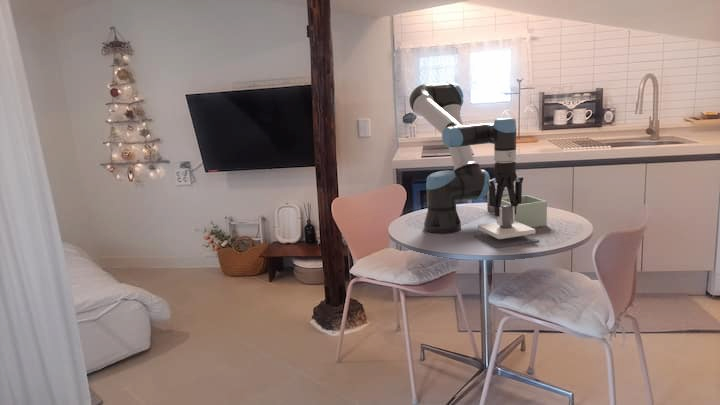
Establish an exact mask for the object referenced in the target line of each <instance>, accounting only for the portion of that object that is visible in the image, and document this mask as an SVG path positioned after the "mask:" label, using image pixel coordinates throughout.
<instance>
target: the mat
mask: <svg viewBox="0 0 720 405" xmlns="http://www.w3.org/2000/svg"><path fill="white" fill-rule="evenodd" d="M474 237H475V238H477V239H479V240H481V241H483V242H485V243H487V244H488V245H490V246H492V247H494V248H496V249H500V248H501V249H502V248H508V247H512V246H513V247H515V246H522V245H526V244H532V243H540V240H539V239H537V238H535V237H533V236H531V235H530V234H529V235H525V236H518V237H512V238H505V239H497V238H495V237H493V236H491V235H489V234H487V233H485V232H483V233H477V234H474Z"/></svg>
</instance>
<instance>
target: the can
mask: <svg viewBox="0 0 720 405" xmlns="http://www.w3.org/2000/svg"><path fill="white" fill-rule="evenodd" d="M495 183H496V182H495ZM496 192H497V183H496V184H495V194H496ZM486 196H487V198H486V202H487V203H486V204H487V205H486V206H487V212H488V213H491V214H495V208H494V207H492V206H490V203H489V192H488V194H487V195H486ZM508 197H509V193H508V189H507V187H505V189H504V190H503V195H502V198H508Z"/></svg>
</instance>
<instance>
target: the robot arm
mask: <svg viewBox="0 0 720 405" xmlns="http://www.w3.org/2000/svg"><path fill="white" fill-rule="evenodd" d="M408 102H409V106H410V109H411V110H412V112H413V113H414V114H416V115H417V116H420V117H423V118H424V119H425V121H427V122H428V123H429V124H430V125H431V126H433V127H434V128H435V129H436V130H437V131H438V132H439V133H440V134H441V140H442V142H443V144H444V147H447V148H448V151H449V153H450V157H451V160H452V164H453V167H454V168H453V170H449V169H448V170H439V171H436V172H432V173H430V174H429V175H428V176H427V177H426V183H425V184H426V186H425V188H426V205H427V206H426V207H427V210H426V211H427V212H426V214H425V215H426V216H425V219H424V223H423V229H424V231H426V232H429V233H433V234H449V233H455V232H458V231H460V230H461V229H462V222H461V219H460V217H459V213H458V211H457V202H463V201H470V200H478V199H482V198H485V197H486V196H487V194H488V192H489V203H490V206H492V207H494V208H495V213H494V216H495V217H496V222H497V224H498V225H500V226H501V225H502V208H500V205H501V200H502V195H503V190H504V189H505V187H507V189H508V193H509V198H510V203H511V206H512V224H515V214H516V206H518V204H521V200H522V196H523V194H522V192H523V190H522V189H523V182H524V177H522V176H518V175H517V173H516V172H517V162H516V160H517V121H516V119H515V118H513V117H503V118H502V117H501V118H500V117H499V118H495V119H494V121H493V122H482V123H477V124H475V123H474V124H467V125H464V123H463V120H462V118H461V117H462V116H461V115H460V112H461V111H462V110H461V109H462V106H463V104H464V93H463V90H462V88H461V86H460V85H458V83H455V82H448V81H445V82H442V83H440V82H439V83H438V82H437V83H424V84H421V85H418V86H417V87H415V88H414V89H413V90H412V91H411V94H410V97H409V101H408ZM484 144H485V145H486V144H491V145H493V144H494V146H493V148H494V149H493V150H494V152H493V153H494V155H493V156H494V158H493V159H494V161H495V162H494V176H493V178H492V179H491V177H490V174H489V171H487V170H485V169H481V166H480V165H481V164H480V163H478V162H476V161H475V159H474V156H473V153H472V152H473V151H472V150H471V147H470V146H477V145H484ZM496 183H497V192H496V194H495V184H496ZM514 184H515V185H514Z"/></svg>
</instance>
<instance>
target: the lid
mask: <svg viewBox="0 0 720 405" xmlns="http://www.w3.org/2000/svg"><path fill="white" fill-rule="evenodd" d="M500 208H502V225H501V226H500V225H498V224H497V221H495V222H490V223H482V224H477V230H480V231H482V232H483V233H487V234H489V235H491V236H493V237H495V238H497V239H505V238H512V237H518V236H525V235H529V236H530V235H534V234H536V228H535V227H534V228H531V227H529V226H526V225H524V224H521V223H519V222H517V221H515V224H512V206H511V205H500Z"/></svg>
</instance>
